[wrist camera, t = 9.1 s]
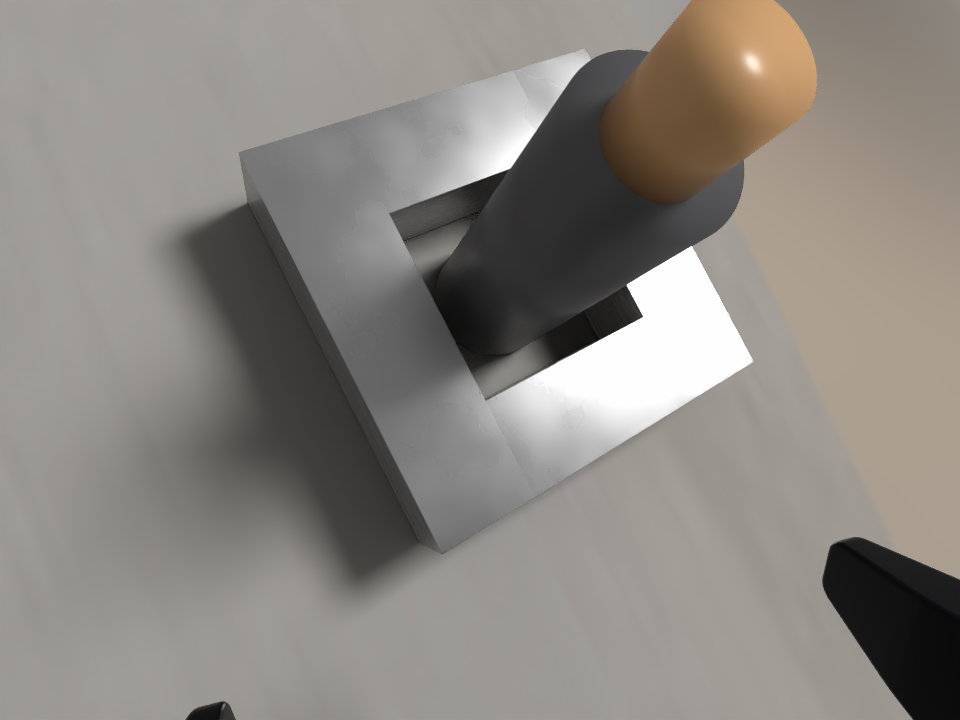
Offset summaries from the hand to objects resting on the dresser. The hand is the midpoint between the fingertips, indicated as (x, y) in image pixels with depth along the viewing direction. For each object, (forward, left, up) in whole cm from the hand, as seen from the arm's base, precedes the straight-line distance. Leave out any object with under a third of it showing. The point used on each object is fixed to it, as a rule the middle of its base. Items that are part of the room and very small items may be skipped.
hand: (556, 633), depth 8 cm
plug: (+6, -6, -10) cm, 14 cm away
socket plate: (+6, -6, -10) cm, 14 cm away
